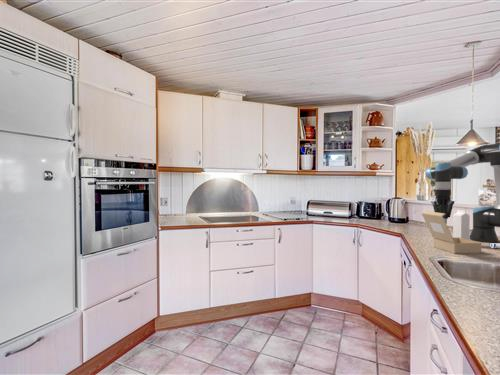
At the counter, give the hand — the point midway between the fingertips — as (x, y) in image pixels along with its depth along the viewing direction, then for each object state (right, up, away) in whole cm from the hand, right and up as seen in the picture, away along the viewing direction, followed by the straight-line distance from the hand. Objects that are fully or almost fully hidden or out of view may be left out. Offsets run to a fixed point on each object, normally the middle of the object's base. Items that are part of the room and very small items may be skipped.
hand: (442, 229), depth 167 cm
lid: (-1, +2, 0) cm, 3 cm away
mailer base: (+9, -12, +1) cm, 15 cm away
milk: (+23, -12, +16) cm, 30 cm away
